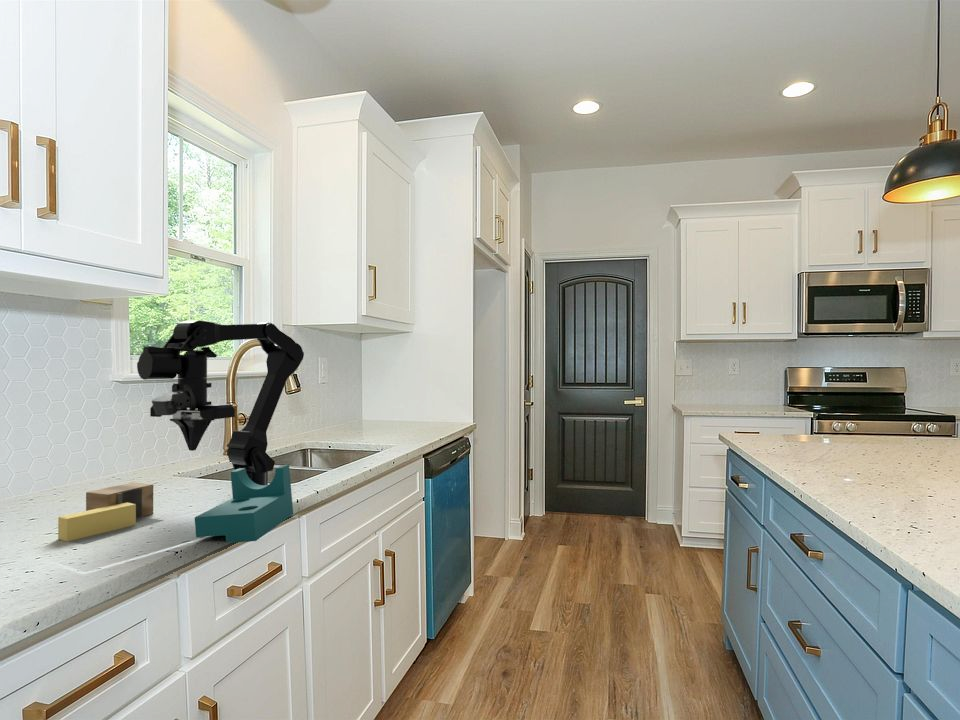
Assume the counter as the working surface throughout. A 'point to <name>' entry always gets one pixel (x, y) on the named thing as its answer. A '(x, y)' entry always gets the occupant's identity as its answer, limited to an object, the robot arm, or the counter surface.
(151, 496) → the brown box
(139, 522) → the mat
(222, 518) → the teal l-shaped bracket
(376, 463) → the counter surface
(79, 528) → the yellow block
